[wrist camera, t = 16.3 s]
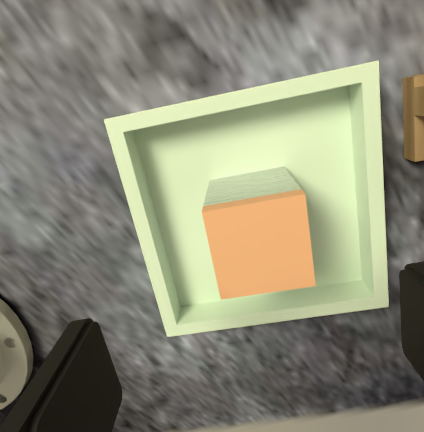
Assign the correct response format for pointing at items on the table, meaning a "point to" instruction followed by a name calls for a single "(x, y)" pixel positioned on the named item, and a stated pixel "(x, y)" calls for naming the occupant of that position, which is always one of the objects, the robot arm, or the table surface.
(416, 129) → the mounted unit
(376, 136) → the tray
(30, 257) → the table surface
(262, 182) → the block
